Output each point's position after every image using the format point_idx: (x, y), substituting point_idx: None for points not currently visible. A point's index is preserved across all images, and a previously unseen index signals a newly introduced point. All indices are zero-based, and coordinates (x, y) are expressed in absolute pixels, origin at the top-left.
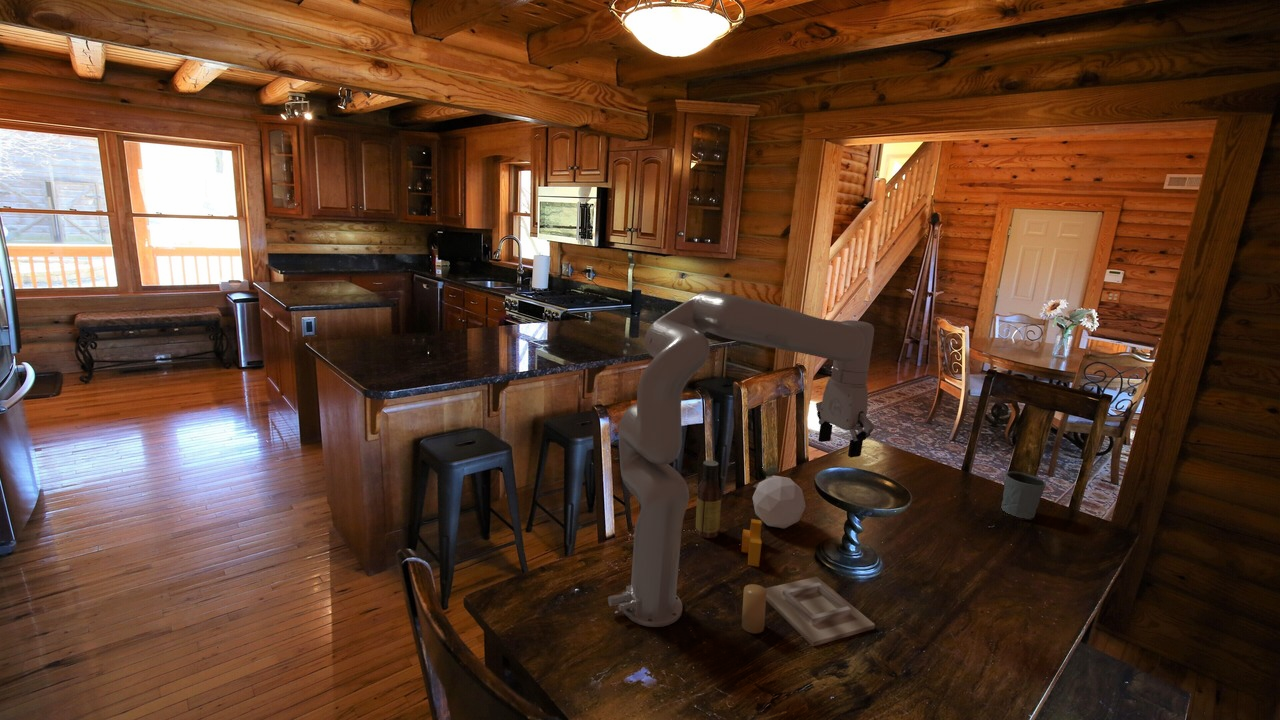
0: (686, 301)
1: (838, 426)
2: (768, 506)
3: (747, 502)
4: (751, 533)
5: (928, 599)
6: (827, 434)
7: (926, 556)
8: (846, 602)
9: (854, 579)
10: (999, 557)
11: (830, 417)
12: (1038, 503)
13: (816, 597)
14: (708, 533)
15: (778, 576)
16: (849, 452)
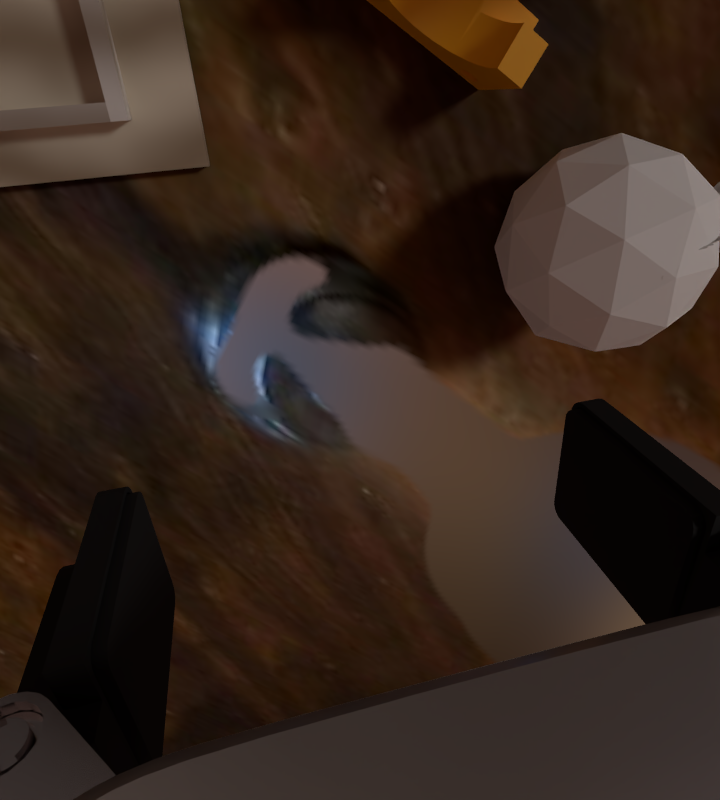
0: None
1: (327, 715)
2: (577, 161)
3: None
4: (489, 23)
5: (78, 453)
6: (602, 518)
7: (278, 556)
8: (39, 176)
9: (199, 303)
10: (243, 690)
11: (684, 766)
12: None
13: (74, 73)
14: None
15: (255, 21)
16: (98, 519)
